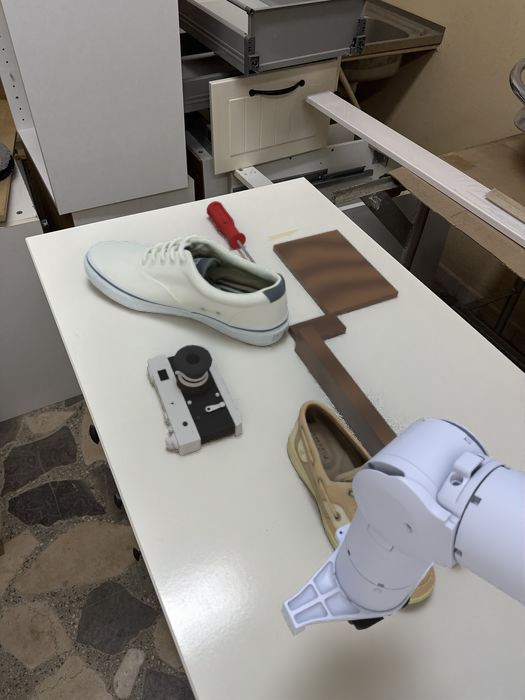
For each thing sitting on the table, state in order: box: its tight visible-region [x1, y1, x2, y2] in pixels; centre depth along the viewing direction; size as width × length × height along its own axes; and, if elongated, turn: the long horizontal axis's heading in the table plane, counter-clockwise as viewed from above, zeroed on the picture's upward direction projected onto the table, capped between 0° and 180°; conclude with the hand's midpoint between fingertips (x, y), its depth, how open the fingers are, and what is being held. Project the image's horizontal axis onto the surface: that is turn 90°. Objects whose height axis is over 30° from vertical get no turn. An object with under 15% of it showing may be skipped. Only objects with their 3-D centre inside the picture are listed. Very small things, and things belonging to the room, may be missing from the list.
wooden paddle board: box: [272, 229, 399, 458], centre depth 79 cm, size 60×23×4 cm, turn 27°
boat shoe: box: [286, 399, 437, 605], centre depth 60 cm, size 9×25×8 cm, turn 31°
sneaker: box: [83, 234, 291, 347], centre depth 82 cm, size 13×35×13 cm, turn 70°
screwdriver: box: [206, 201, 257, 264], centre depth 95 cm, size 4×25×4 cm, turn 26°
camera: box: [146, 344, 243, 456], centre depth 70 cm, size 15×7×10 cm
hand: (350, 610), depth 46 cm, fingers closed
